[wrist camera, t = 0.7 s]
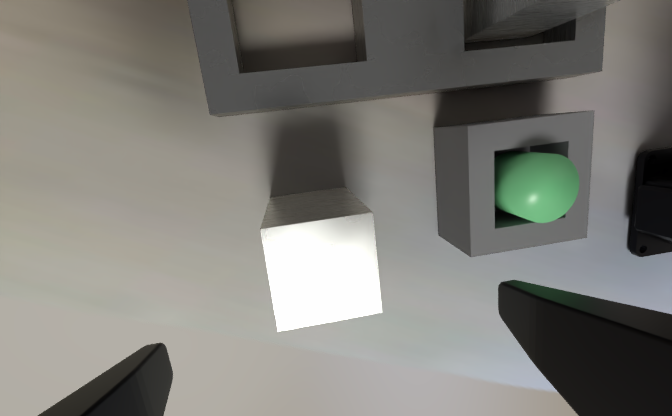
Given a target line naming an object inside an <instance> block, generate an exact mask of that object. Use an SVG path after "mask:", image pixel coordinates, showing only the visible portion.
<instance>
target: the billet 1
mask: <svg viewBox="0 0 672 416" xmlns="http://www.w3.org/2000/svg"><path fill="white" fill-rule="evenodd" d="M260 231H261V236H262V242H263V248H264V253H265V259H266V265H267V270H268V276H269V282H270V287H271V293H272V299H273V304H274V310H275V316H276V321H277V327H278V331H282V330H288V329H293V328H299V327H305V326H310V325H316V324H321V323H327V322H332V321H338V320H343V319H349V318H354V317H360V316H365V315H371V314H376V313H382V305H381V294H380V283H379V273H378V262H377V251H376V241H375V230H374V219H373V212H372V211H371V210H370V209H369V208H368V207H367V206H365V205H364V204H363V203H362V202H361V201H360V200H359V199H358V198H357V197H356V196H355V195H354V194H353V193H352V192H351V191H350V190H348V189H347V188H346V187H342V188H335V189H327V190H320V191H313V192H306V193H299V194H291V195H284V196H277V197H270V200H269V203H268V206H267V209H266V212H265V215H264V219H263V222H262V225H261V228H260Z"/></svg>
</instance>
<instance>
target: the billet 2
mask: <svg viewBox="0 0 672 416" xmlns="http://www.w3.org/2000/svg"><path fill="white" fill-rule="evenodd" d="M618 1H620V0H463V16H464V43H471V42H481V41H492V40H502V39H513V38H523V37H531V36H533V35H536V34H538V33H541V32H543V31H546V30H548V29H551V28H553V27H556V26H558V25H561V24H563V23H566V22H568V21H571V20H573V19H576V18H578V17H581V16H583V15H585V14H588V13H590V12H593V11H595V10H598V9H600V8H603V7H605V6H608V5H610V4H613V3H615V2H618Z"/></svg>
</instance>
